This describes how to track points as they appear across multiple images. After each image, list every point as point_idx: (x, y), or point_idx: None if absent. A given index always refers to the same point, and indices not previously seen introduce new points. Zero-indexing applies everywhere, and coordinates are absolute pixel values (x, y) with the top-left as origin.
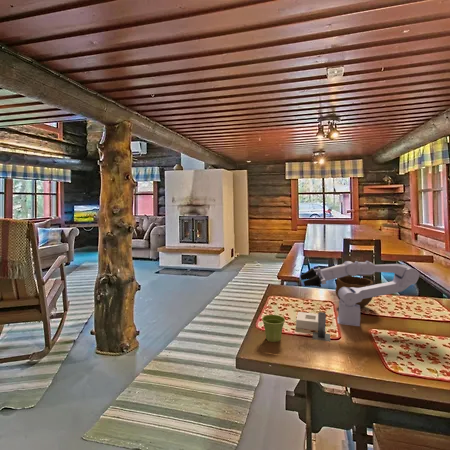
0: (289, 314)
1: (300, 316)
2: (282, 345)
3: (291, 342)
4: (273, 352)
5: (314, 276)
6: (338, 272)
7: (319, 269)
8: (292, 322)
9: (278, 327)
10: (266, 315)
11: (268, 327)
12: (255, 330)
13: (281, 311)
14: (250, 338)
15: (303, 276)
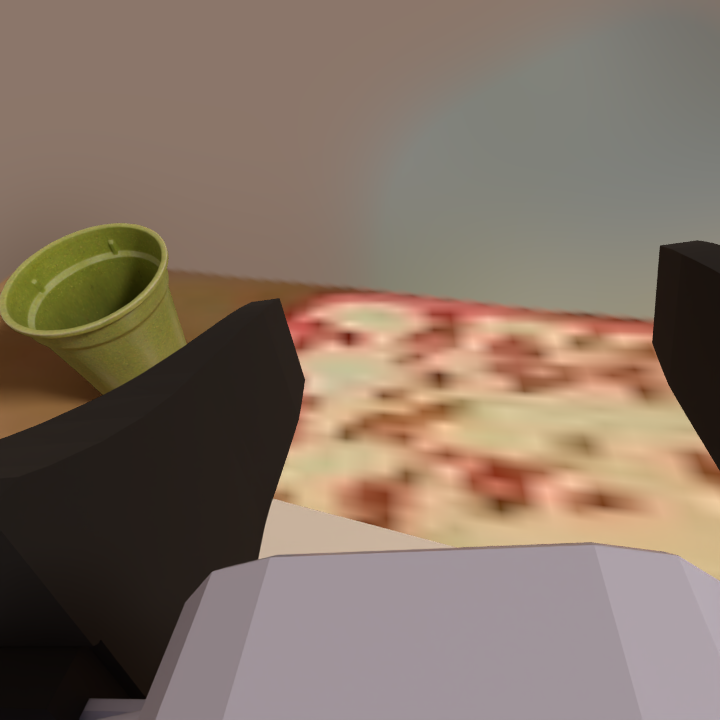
0: (603, 525)
1: (335, 551)
2: (55, 410)
3: None
4: (5, 364)
5: (114, 430)
6: None
7: (175, 650)
8: (403, 522)
9: (32, 321)
10: (161, 240)
11: (70, 279)
12: (276, 293)
13: (666, 461)
14: (184, 277)
15: (684, 312)
